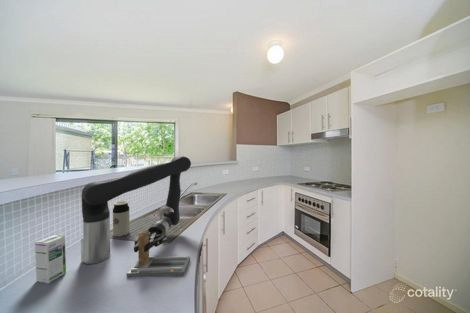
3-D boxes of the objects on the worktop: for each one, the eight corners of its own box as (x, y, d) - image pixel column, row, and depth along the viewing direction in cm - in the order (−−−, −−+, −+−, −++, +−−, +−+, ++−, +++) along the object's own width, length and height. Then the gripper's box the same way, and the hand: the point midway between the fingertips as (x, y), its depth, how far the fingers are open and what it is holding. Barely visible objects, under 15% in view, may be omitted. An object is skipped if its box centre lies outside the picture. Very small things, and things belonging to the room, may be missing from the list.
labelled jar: (124, 229, 107) (124, 200, 107) (132, 232, 104) (132, 201, 104) (110, 235, 100) (109, 203, 100) (118, 238, 97) (117, 205, 96)
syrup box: (48, 284, 63) (47, 243, 62) (35, 281, 64) (34, 241, 64) (66, 273, 68) (65, 235, 68) (54, 271, 69) (53, 234, 69)
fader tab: (133, 268, 68) (133, 235, 68) (141, 259, 74) (140, 228, 74) (146, 268, 68) (146, 235, 68) (153, 259, 74) (153, 228, 74)
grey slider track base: (126, 277, 66) (126, 271, 66) (140, 261, 76) (140, 255, 76) (183, 275, 66) (183, 269, 66) (189, 259, 76) (189, 254, 76)
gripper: (143, 222, 85) (121, 240, 68) (173, 222, 85) (158, 239, 68) (143, 238, 85) (121, 260, 68) (173, 238, 85) (158, 259, 68)
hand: (140, 249), depth 68 cm, fingers closed on fader tab, 3 cm apart
